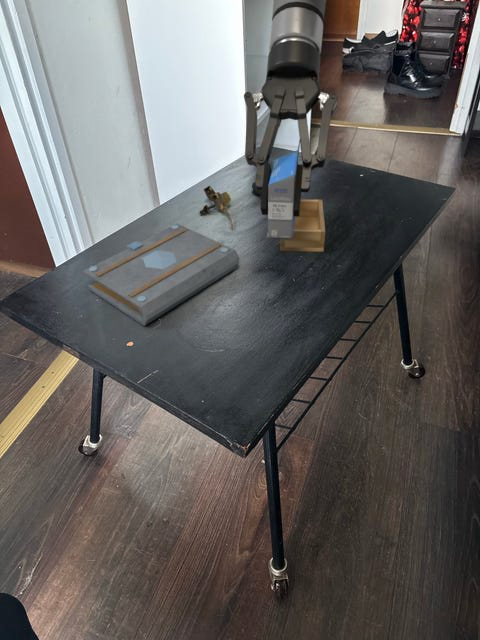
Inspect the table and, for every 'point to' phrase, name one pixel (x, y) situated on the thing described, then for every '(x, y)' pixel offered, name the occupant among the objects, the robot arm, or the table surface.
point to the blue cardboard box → (282, 196)
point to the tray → (307, 229)
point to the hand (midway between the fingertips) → (280, 212)
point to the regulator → (217, 202)
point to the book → (161, 272)
